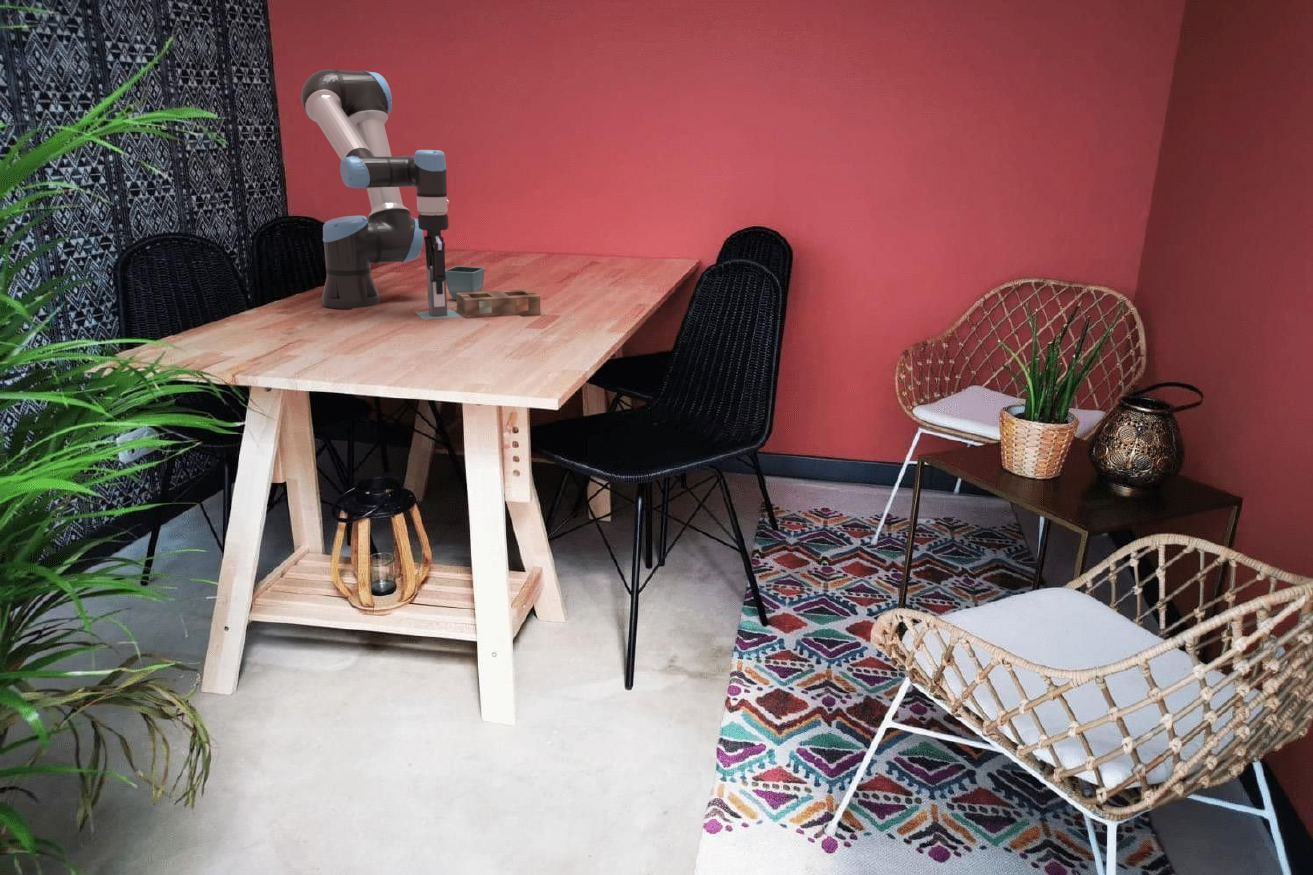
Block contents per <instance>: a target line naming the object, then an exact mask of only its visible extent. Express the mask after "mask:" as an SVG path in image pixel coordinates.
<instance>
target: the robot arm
mask: <svg viewBox="0 0 1313 875" xmlns="http://www.w3.org/2000/svg"><path fill="white" fill-rule="evenodd" d="M300 93H301V95H300V100H301V104H302V107H303V108H302V109H303V110H304V112H305V113H306V115H307V116H308V117H309V119H311V121H313V122H315V123H317V125H318V126H319V128H320V130H321V131H322V133H323V134H324V135H325V137H326V139H327V141H328V142H329V144H330V145H331V146H332V148H333V150H334V152H336V154H337V156H338V157H339V159H340V160H341V161H340V166H339V167H340V169H339V171H340V177H341V180H342V182H343V184H344V185H345V186H346V187H348V188H351V189H352V188H353V189H360V190H361V189H366V191H367V195H368V198H369V199H368V200H369V204H370V208H371V212H369V214H368V216H366V215H347V216H340V217H335V218H332V219H329V220H327V221H325V223H324V224H323V225H322V242H323V248H324V250H323V251H324V260H325V261H324V262H325V271H326V272H325V273H326V278H325V283H324V287H323V290H322V294H321V295H322V296H321V303H322V306H323V307H326V308H331V309H344V310H347V309H348V310H350V309H357V308H359V309H361V308H366V307H367V308H368V307H372V306H376V305H379V304H381V301H380V294H379V291H378V289H377V286H376V283H375V281H374V279H373V277H372V269H371V268H372V267H371V265H377V264H388V263H406V262H412V261H414V260H417V259H418V258H419V257H420V255H421V254H422V250H423V245H424V246H425V262H426V263H425V264H426V268H430V266H433V276H434V279H433V280H431V282H433V296H434V307H442V306H445V295H444V280H446V275H445V270H446V261H445V260H446V255H445V254H446V253H445V252H446V250H445V248H446V246H445V245H446V242H445V241H444V237H443V236H442V233H441V232H442V231H446V230H448V229H449V215H448V214H447V213H448V211H449V210H448V205H449V204H450V202H451V201H450V200H449V199H448V189H447V188H448V186H447V181H448V180H447V163H446V155H445V153H444V151H442V150H435V149H418V150H416V151H415V152H414V155H411V154H410V155H403V156H392V152H391V148H390V144H389V140H388V136H387V132H386V127H385V124H386V122H387V121H388V119H389V115H390V114H391V112H392V109H393V102H392V100H393V97H392V92H391V88H390V86H389V83H388V82H387V80H386V78H385V77H384V76H382V75H381V73H379V72H378V73H377V72H372V71H369V70H368V71H367V70H360V71H359V70H341V69H339V70H338V69H322V70H318V71H316V72H314V73H312V74H311V75H310V76H309V77H308V78H307V79H306V80H305V82H304V83H303V86H302V88H301V92H300ZM405 187H406V188H407V187H412V188H413V187H415V188H416V206H417V208H416V209H417V212H418V215H417V218H415V217H413V216H412V214H411V211H410V209H409V208H407V207H406V206H405V205H404V204H403V200H402V195H401V191H400V188H405ZM424 231H426V235H424ZM440 275H441V276H440Z"/></svg>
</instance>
